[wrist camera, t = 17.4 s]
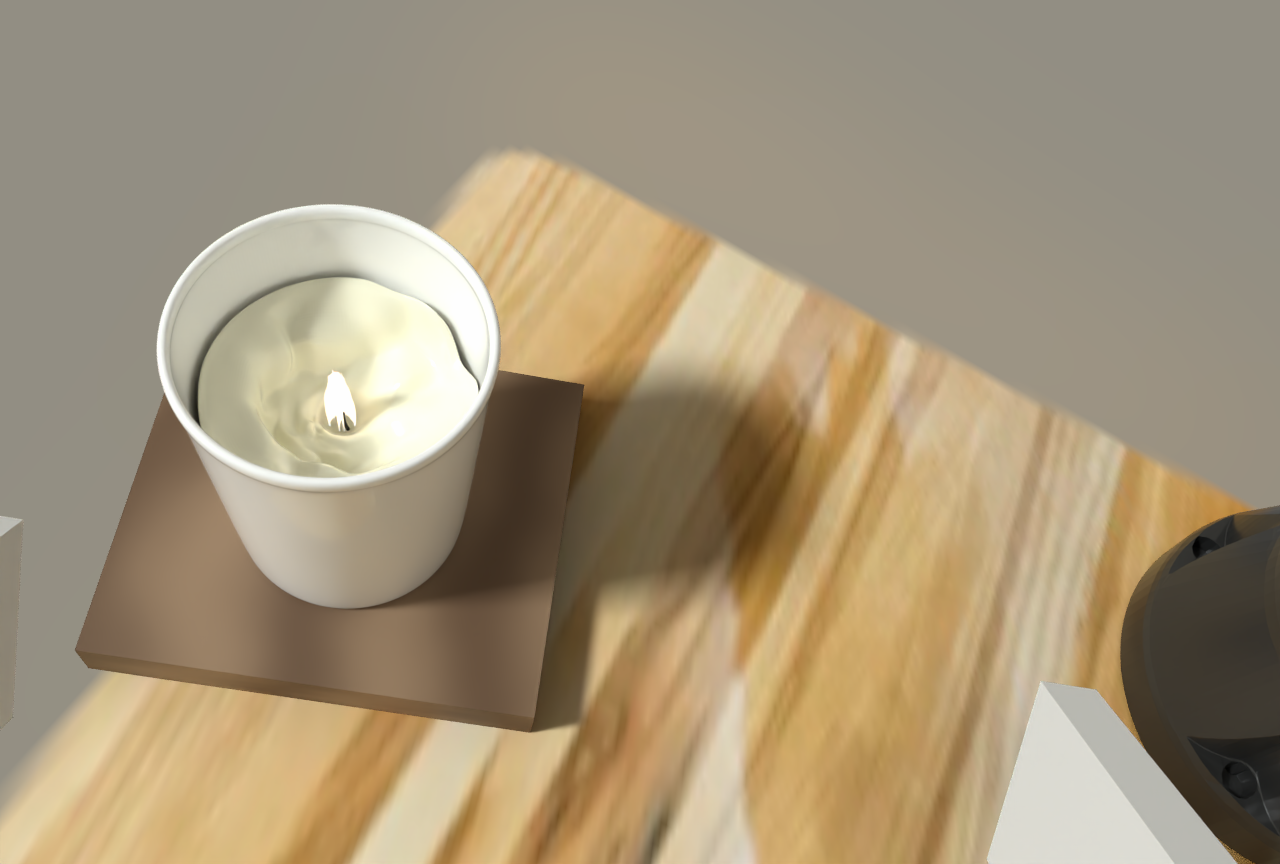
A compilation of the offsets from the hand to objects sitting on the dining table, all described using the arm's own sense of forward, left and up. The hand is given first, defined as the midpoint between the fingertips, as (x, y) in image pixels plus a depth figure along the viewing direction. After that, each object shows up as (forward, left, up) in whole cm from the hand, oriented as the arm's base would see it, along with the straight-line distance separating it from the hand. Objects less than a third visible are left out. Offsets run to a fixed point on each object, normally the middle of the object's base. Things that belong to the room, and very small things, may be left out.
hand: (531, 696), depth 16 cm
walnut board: (+7, -15, -30) cm, 34 cm away
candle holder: (+7, -14, -28) cm, 32 cm away
